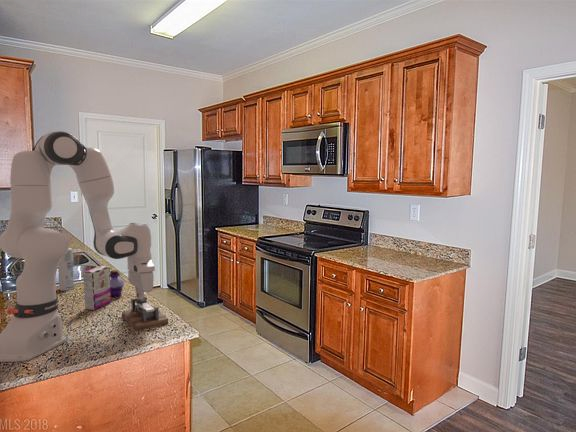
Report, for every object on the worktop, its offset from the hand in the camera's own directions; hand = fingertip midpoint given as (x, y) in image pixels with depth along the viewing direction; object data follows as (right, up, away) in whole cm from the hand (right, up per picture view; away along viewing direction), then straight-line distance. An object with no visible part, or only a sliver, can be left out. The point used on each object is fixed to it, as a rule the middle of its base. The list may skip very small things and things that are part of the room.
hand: (140, 298), depth 154 cm
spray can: (-51, -4, +38) cm, 63 cm away
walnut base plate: (+3, -8, -2) cm, 9 cm away
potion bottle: (-22, -5, +28) cm, 36 cm away
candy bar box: (-23, -6, +14) cm, 28 cm away
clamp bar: (+3, -3, -3) cm, 5 cm away
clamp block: (+3, -6, -2) cm, 7 cm away
